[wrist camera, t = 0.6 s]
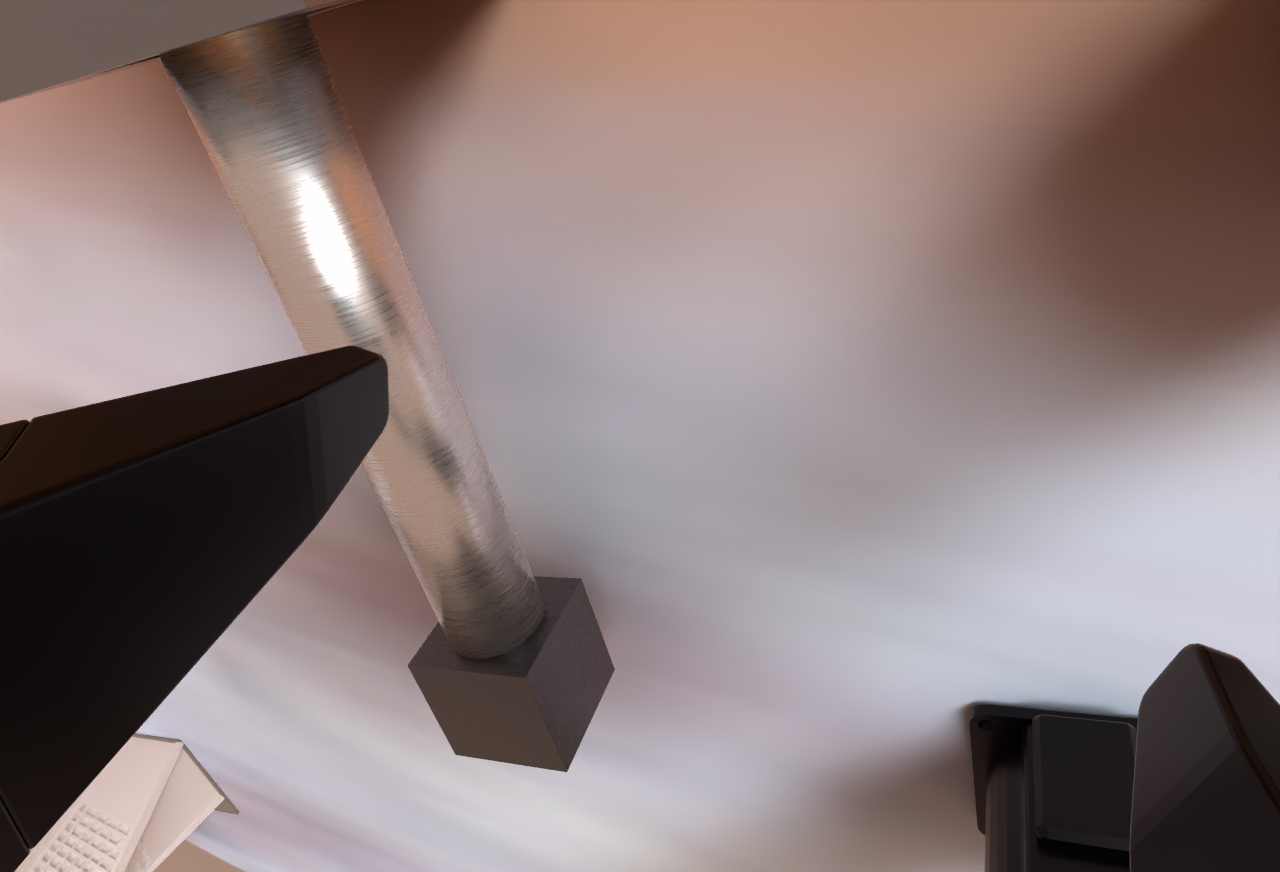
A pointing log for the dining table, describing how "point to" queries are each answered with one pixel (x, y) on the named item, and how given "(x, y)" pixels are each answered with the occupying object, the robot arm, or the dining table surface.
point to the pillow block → (117, 34)
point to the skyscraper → (131, 812)
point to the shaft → (396, 397)
